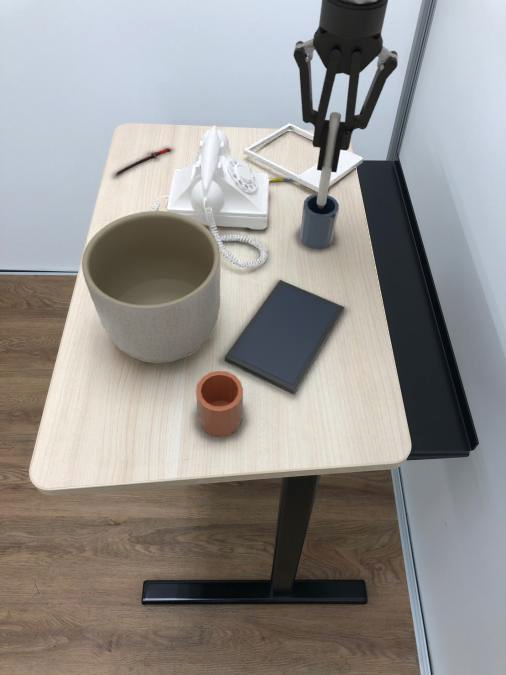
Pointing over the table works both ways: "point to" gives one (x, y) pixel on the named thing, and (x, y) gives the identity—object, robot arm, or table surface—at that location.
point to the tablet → (285, 336)
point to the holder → (318, 222)
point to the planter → (155, 284)
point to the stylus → (328, 158)
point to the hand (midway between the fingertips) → (327, 165)
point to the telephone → (221, 193)
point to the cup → (220, 403)
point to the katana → (144, 159)
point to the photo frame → (312, 174)
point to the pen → (279, 179)
